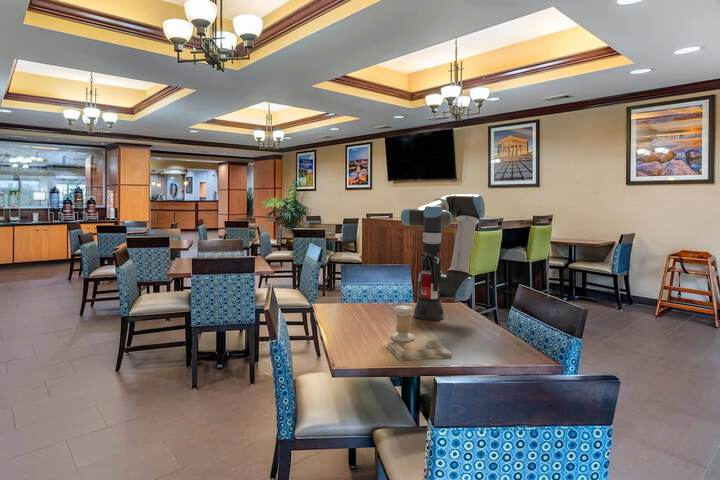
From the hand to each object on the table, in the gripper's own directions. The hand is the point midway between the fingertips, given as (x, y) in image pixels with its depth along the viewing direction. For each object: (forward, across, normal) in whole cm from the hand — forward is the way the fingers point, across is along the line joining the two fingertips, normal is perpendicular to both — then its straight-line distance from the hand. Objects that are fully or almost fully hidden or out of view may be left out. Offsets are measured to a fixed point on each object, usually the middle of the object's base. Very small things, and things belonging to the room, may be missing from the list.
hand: (429, 296), depth 189 cm
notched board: (+18, +17, -11) cm, 27 cm away
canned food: (+1, 0, 0) cm, 1 cm away
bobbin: (+18, -1, -11) cm, 21 cm away
